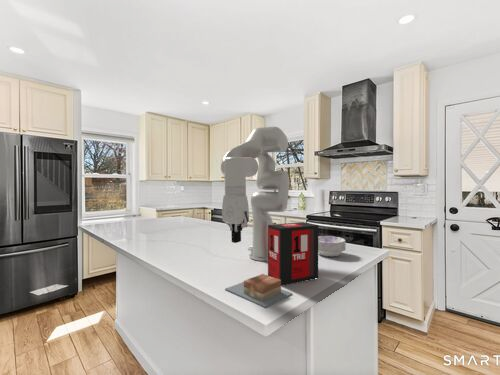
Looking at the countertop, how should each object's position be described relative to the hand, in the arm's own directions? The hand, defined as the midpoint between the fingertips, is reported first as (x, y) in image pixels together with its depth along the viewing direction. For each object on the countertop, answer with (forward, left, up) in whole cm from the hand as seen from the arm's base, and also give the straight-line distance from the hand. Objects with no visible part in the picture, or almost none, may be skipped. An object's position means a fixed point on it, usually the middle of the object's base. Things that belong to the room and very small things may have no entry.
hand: (236, 241), depth 96 cm
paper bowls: (+6, +57, -15) cm, 60 cm away
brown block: (+10, -2, -12) cm, 16 cm away
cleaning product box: (+13, +17, -15) cm, 26 cm away
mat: (+12, -2, -14) cm, 19 cm away
